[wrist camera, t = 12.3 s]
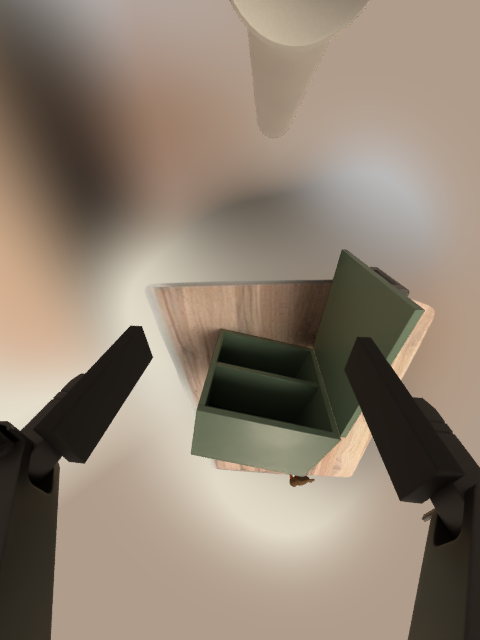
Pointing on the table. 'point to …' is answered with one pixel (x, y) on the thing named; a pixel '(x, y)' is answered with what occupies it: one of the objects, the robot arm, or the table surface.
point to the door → (359, 328)
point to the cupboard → (264, 406)
